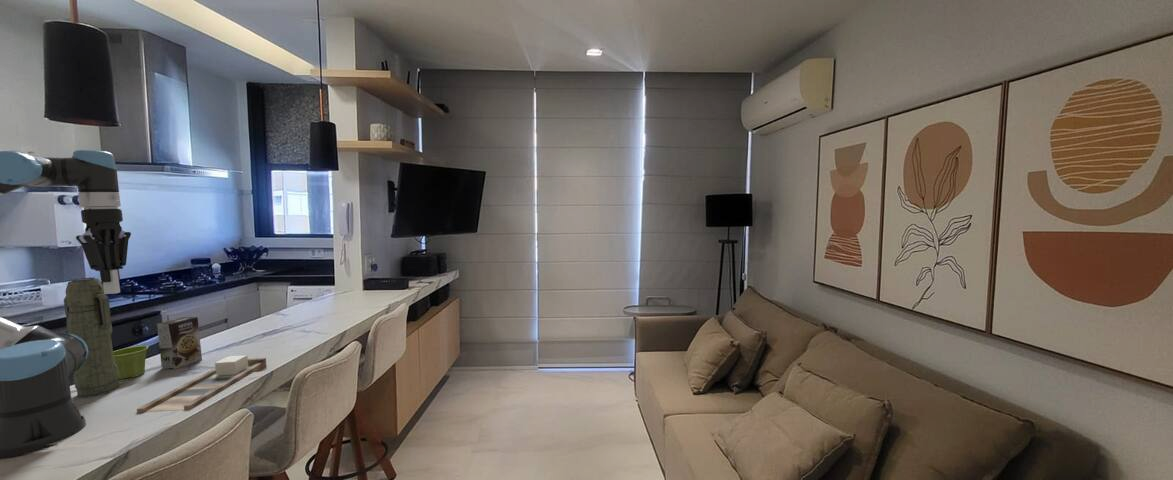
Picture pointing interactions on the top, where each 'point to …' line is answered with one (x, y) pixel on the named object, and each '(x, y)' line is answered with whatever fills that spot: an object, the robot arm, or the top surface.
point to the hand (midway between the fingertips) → (112, 293)
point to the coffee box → (179, 342)
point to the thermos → (92, 336)
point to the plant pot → (130, 361)
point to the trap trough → (199, 389)
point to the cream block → (231, 365)
